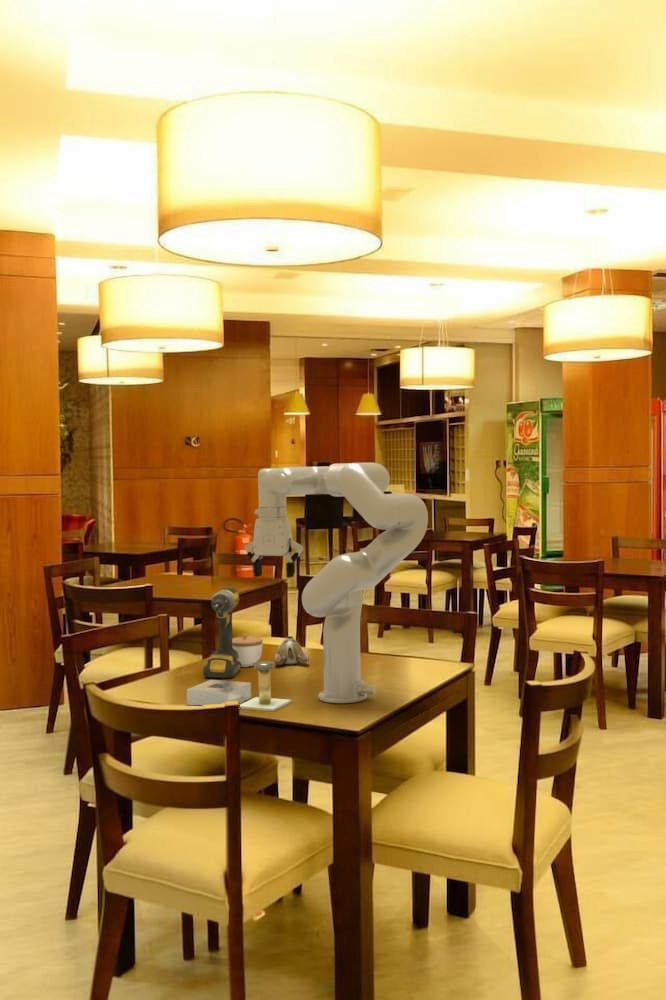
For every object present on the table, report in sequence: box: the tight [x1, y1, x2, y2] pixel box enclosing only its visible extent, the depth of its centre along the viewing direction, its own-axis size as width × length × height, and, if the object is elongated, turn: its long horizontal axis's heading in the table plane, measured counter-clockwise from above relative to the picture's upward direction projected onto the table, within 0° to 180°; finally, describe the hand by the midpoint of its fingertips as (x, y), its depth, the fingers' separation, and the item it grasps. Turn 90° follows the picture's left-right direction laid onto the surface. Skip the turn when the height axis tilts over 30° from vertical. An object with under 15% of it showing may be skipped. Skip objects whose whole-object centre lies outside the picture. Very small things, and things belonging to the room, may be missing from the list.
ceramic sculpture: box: [273, 635, 310, 666], centre depth 299 cm, size 11×9×15 cm
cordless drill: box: [202, 586, 242, 679], centre depth 282 cm, size 9×20×25 cm, turn 172°
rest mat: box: [239, 696, 292, 712], centre depth 246 cm, size 10×10×1 cm
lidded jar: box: [232, 633, 263, 668], centre depth 298 cm, size 11×11×9 cm
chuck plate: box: [186, 679, 252, 706], centre depth 251 cm, size 12×12×4 cm
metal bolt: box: [253, 660, 275, 705], centre depth 246 cm, size 5×5×10 cm
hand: (274, 576), depth 265 cm, fingers open, 9 cm apart
